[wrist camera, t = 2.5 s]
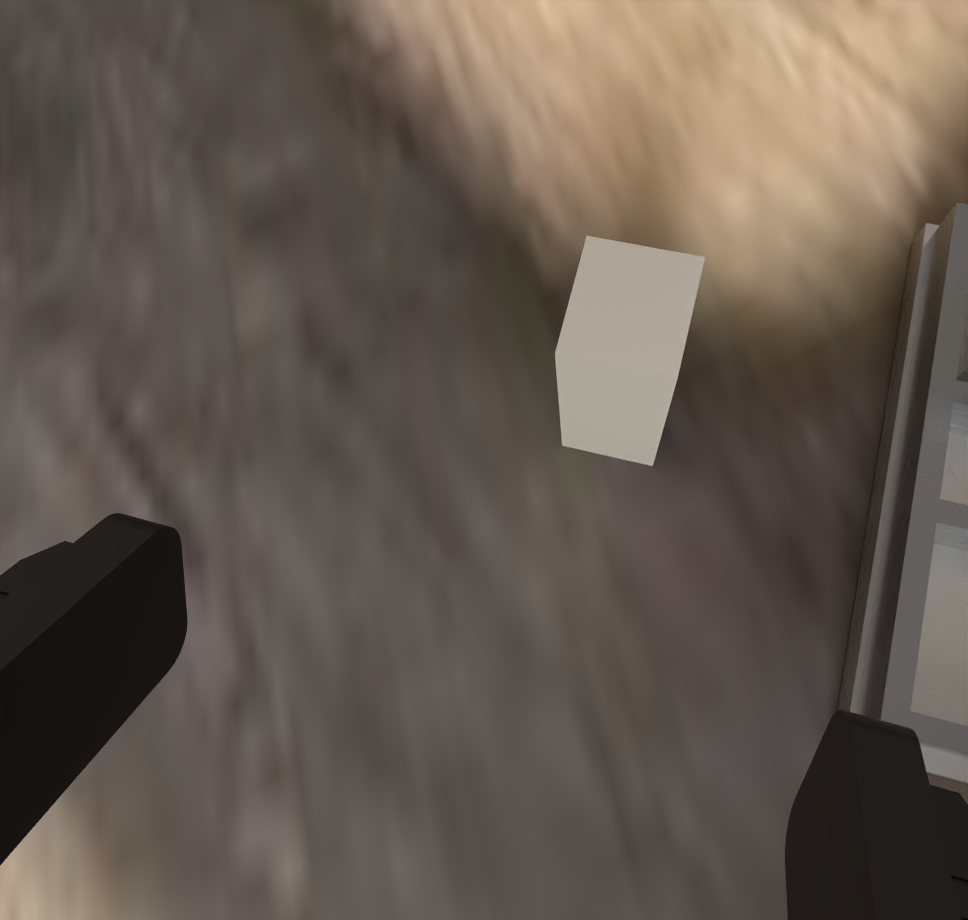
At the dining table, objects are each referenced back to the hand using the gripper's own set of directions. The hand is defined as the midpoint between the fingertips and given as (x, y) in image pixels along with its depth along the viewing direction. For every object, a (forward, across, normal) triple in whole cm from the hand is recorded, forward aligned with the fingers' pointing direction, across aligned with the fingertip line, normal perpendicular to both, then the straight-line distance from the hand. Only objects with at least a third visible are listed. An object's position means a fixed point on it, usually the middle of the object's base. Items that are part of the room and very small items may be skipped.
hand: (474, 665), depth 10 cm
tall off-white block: (+24, 0, +7) cm, 25 cm away
